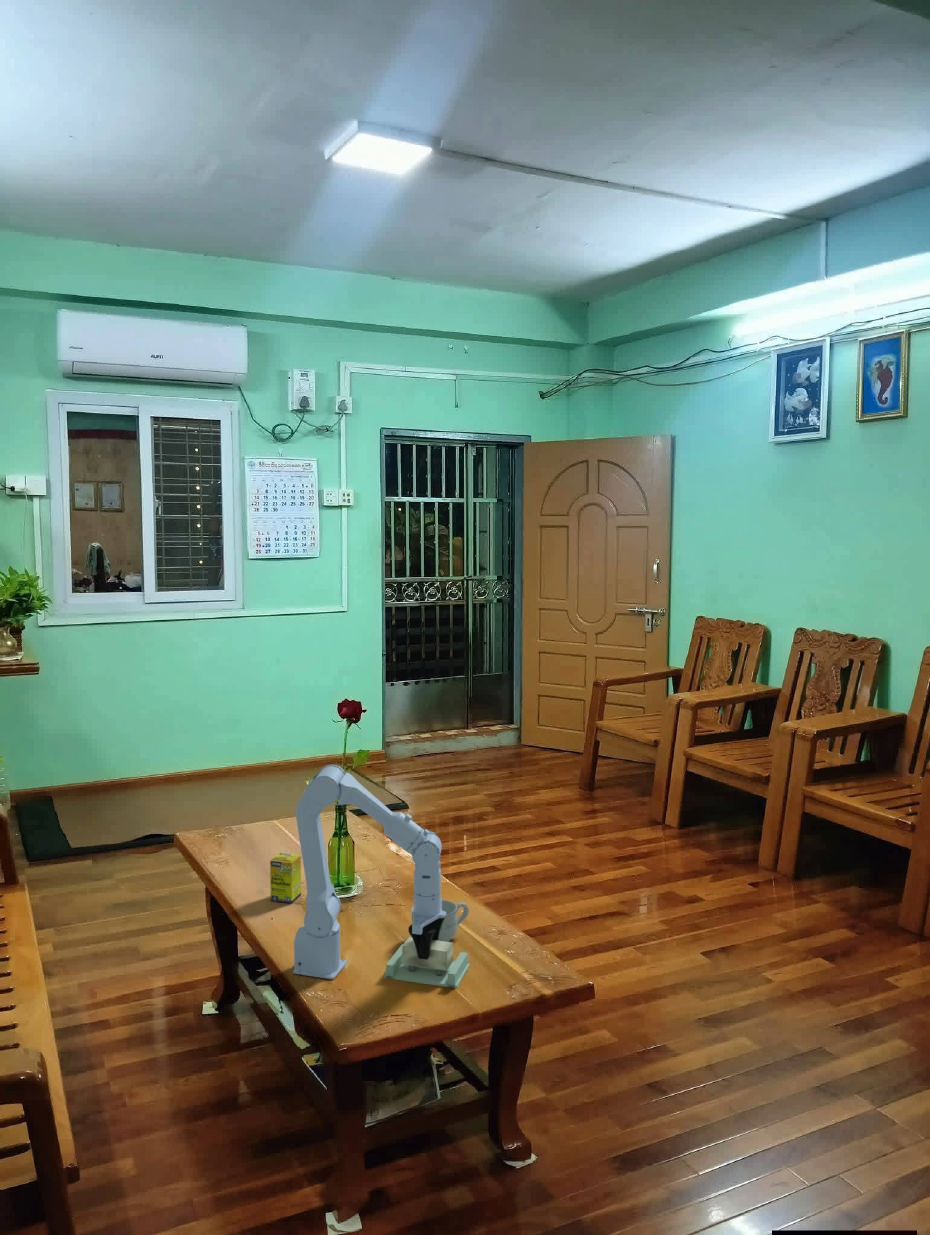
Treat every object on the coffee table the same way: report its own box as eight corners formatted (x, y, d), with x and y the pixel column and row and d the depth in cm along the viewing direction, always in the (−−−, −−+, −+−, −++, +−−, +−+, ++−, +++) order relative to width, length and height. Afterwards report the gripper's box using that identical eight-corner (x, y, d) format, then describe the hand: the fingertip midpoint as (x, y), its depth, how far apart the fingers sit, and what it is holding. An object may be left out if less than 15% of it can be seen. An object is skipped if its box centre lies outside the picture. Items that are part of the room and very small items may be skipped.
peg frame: (384, 977, 198) (384, 964, 198) (400, 956, 208) (400, 943, 208) (456, 988, 194) (456, 974, 194) (469, 966, 204) (469, 953, 203)
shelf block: (402, 964, 200) (402, 945, 200) (409, 955, 204) (409, 936, 204) (447, 970, 197) (447, 951, 197) (453, 961, 202) (453, 942, 201)
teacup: (416, 953, 210) (416, 918, 209) (406, 932, 220) (406, 899, 219) (476, 945, 214) (476, 912, 213) (463, 925, 224) (463, 893, 223)
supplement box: (270, 902, 238) (269, 860, 236) (280, 892, 243) (279, 852, 242) (292, 904, 236) (291, 862, 235) (301, 895, 242) (300, 854, 241)
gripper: (435, 907, 191) (435, 970, 193) (455, 880, 205) (455, 940, 206) (402, 903, 193) (402, 966, 195) (424, 877, 207) (424, 936, 208)
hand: (427, 952), depth 201 cm, fingers open, 5 cm apart
